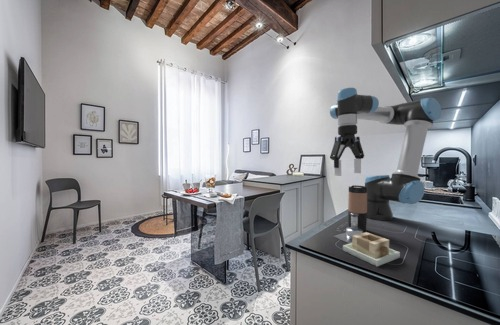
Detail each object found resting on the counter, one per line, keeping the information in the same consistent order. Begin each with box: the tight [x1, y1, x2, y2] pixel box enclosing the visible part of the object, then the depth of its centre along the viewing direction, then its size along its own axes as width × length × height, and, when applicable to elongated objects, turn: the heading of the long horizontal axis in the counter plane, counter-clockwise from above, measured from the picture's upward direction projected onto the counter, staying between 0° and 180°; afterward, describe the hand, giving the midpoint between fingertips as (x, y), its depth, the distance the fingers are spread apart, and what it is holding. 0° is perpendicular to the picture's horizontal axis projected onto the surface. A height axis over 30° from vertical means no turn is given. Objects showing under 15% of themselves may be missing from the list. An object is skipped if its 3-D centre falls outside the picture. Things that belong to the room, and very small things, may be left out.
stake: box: [333, 213, 364, 244], centre depth 85 cm, size 11×11×11 cm
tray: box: [342, 243, 401, 267], centre depth 72 cm, size 12×12×2 cm
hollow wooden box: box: [352, 231, 390, 259], centre depth 72 cm, size 8×9×5 cm
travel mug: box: [347, 184, 368, 233], centre depth 96 cm, size 8×8×20 cm
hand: (348, 174), depth 91 cm, fingers open, 13 cm apart
